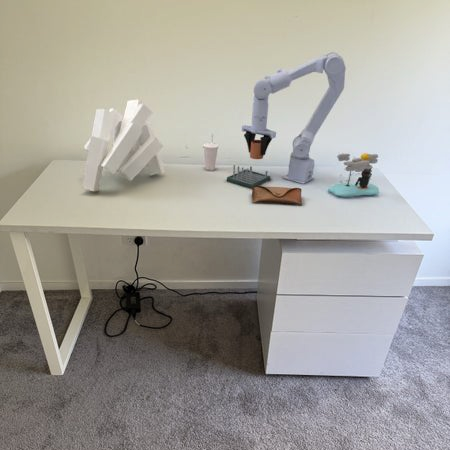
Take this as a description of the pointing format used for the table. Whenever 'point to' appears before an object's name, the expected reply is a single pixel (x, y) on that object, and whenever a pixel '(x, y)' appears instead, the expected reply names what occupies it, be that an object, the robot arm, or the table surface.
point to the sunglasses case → (276, 195)
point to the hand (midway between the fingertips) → (256, 153)
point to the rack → (248, 178)
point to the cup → (255, 149)
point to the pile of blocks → (122, 145)
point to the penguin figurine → (363, 182)
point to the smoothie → (210, 154)
